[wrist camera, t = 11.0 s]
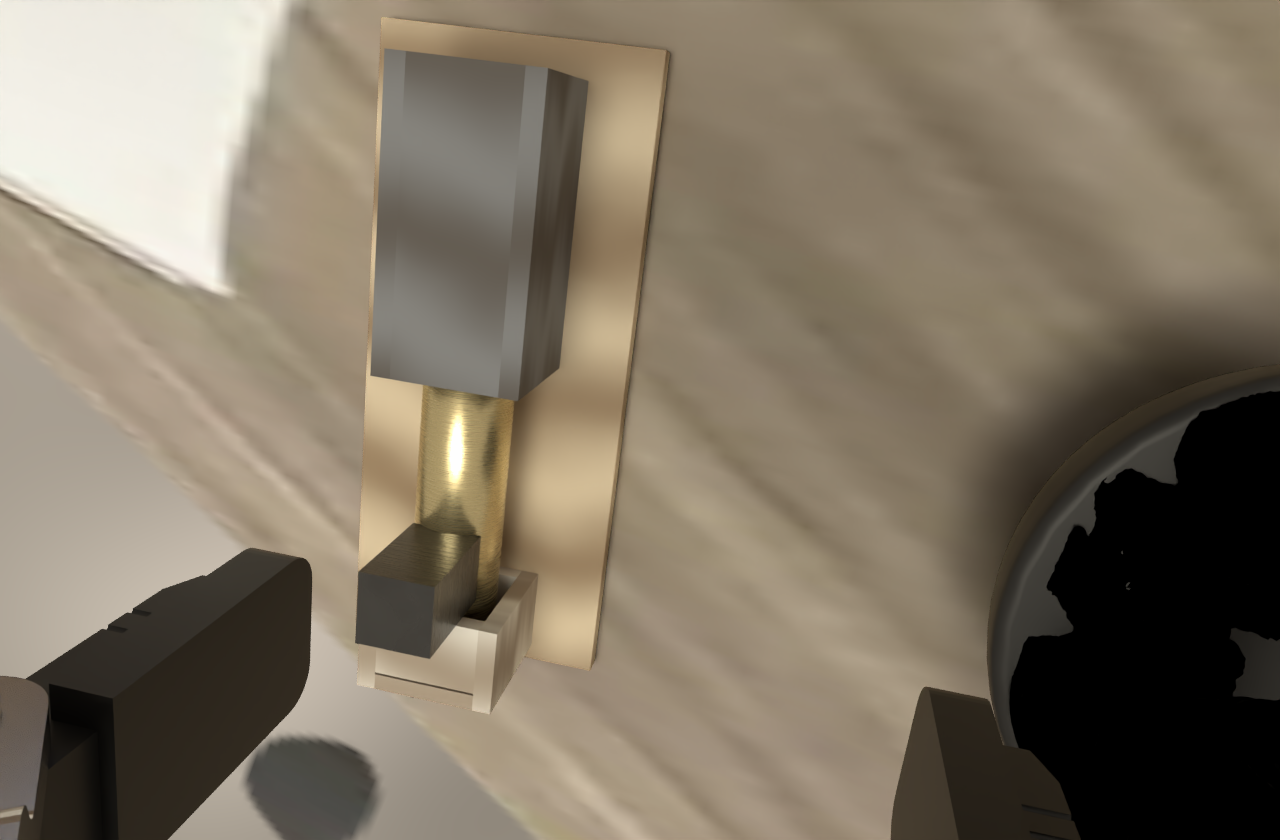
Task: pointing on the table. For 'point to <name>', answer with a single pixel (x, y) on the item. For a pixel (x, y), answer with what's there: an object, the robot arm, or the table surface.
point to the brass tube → (443, 529)
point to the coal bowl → (1153, 620)
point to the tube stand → (508, 315)
